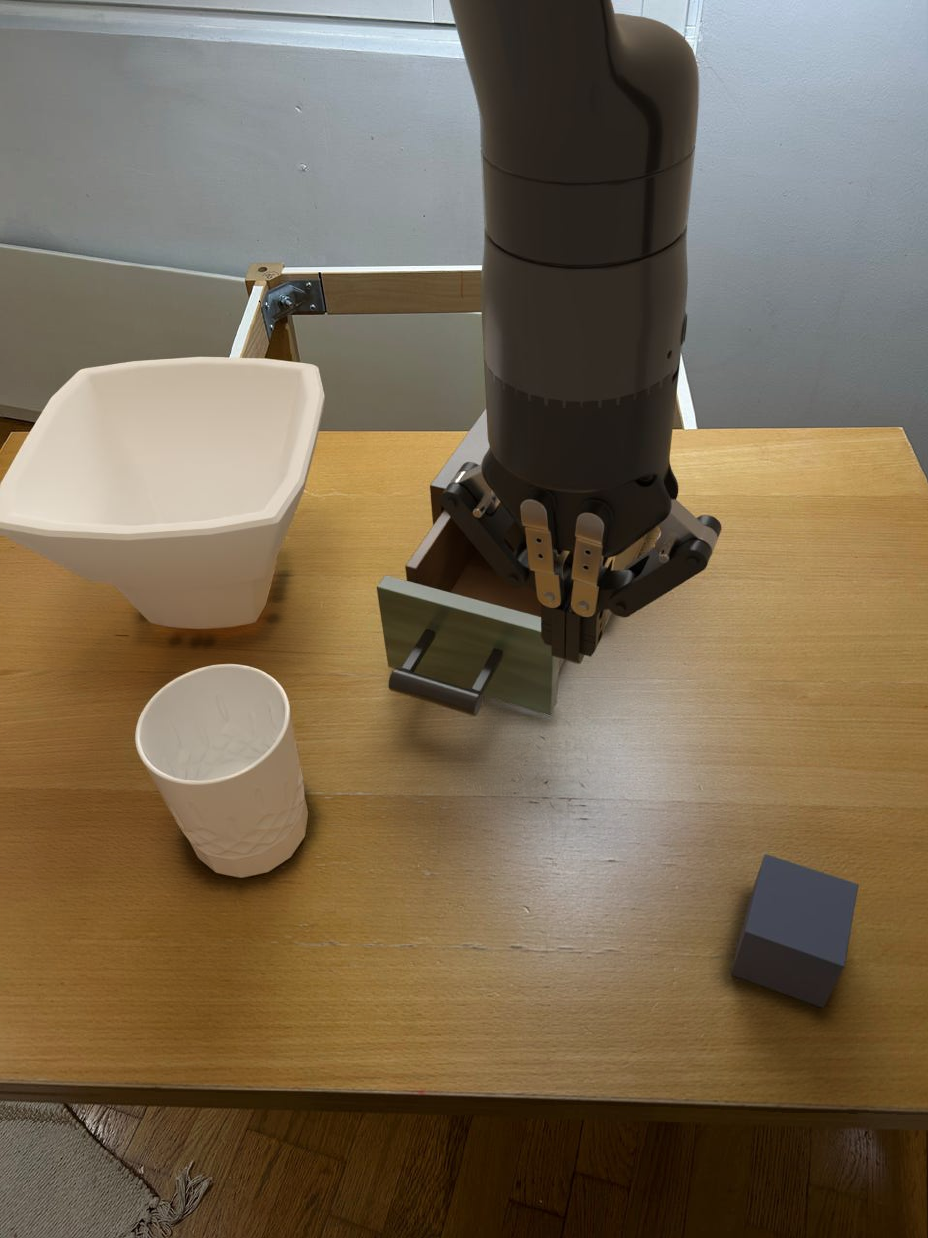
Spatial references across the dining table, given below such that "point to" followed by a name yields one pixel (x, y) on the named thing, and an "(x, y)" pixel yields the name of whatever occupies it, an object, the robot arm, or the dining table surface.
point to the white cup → (227, 766)
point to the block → (796, 930)
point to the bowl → (169, 481)
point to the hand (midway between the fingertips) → (572, 648)
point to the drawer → (464, 630)
